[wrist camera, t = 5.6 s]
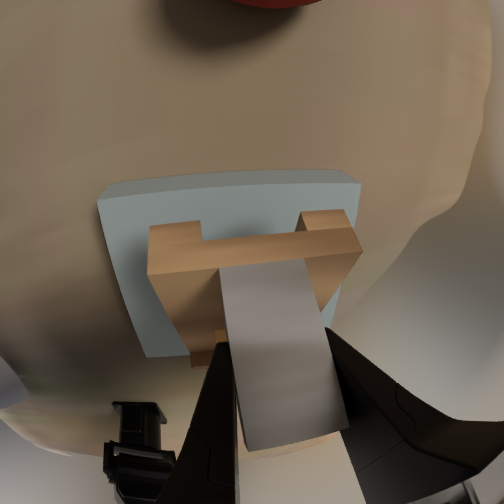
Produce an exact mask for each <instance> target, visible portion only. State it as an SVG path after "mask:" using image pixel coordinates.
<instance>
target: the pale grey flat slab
mask: <svg viewBox="0 0 504 504" xmlns="http://www.w3.org/2000/svg"><path fill="white" fill-rule="evenodd" d="M361 186H362V184H361V183H360V182H358V181H357V180H355V179H354V178H352V177H351V176H349V175H347V174H346V173H344V172H343V171H341V170H257V171H234V172H217V173H202V174H190V175H179V176H169V177H160V178H151V179H143V180H135V181H127V182H120V183H113V184H110V185H109V186H108V187H107V188H106V190H105V191H104V192H103V193H102V194H101V196H100V197H99V198H98V199H97V205H98V210H99V214H100V219H101V223H102V227H103V231H104V235H105V239H106V243H107V247H108V250H109V254H110V257H111V261H112V264H113V268H114V271H115V274H116V277H117V281H118V284H119V287H120V290H121V293H122V296H123V299H124V302H125V304H126V307H127V310H128V313H129V315H130V318H131V321H132V323H133V326H134V329H135V331H136V334H137V336H138V339H139V341H140V343H141V346H142V348H143V351H144V353H145V355H146V358H151V357H171V356H186V355H190V352H189V351H188V349H187V347H186V346H185V344H184V342H183V341H182V339H181V337H180V336H179V334H178V332H177V330H176V329H175V327H174V325H173V323H172V322H171V320H170V318H169V316H168V314H167V312H166V311H165V309H164V307H163V305H162V303H161V301H160V299H159V298H158V296H157V294H156V292H155V290H154V288H153V286H152V284H151V282H150V280H149V278H148V276H147V264H148V243H149V228H150V226H152V225H160V224H169V223H178V222H187V221H197V220H200V223H201V231H202V239H203V241H206V240H215V239H225V238H235V237H245V236H256V235H266V234H277V233H288V232H295V228H296V225H297V222H298V218H299V215H300V212H301V211H317V210H334V209H344V211H345V213H346V215H347V217H348V219H349V221H350V223H351V226H352V228H353V230H354V226H355V221H356V215H357V210H358V204H359V198H360V192H361ZM341 285H342V283H341ZM341 285H340V286H339V288H338V289H337V290H336V292H335V293H334V295H333V296H332V298H331V299H330V300H329V302H328V303H327V305H326V306H325V307H324V309H323V310H322V311H321V313H320V314H321V318H322V321H323V325H324V327H328V328H329V329H330V326H331V322H332V319H333V315H334V312H335V308H336V304H337V300H338V297H339V293H340V289H341Z"/></svg>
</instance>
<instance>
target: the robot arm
mask: <svg viewBox="0 0 504 504" xmlns="http://www.w3.org/2000/svg"><path fill="white" fill-rule="evenodd" d="M324 328H325V332H326V335H327V339H328V343H329V346H330V350H331V354H332V358H333V361H334V365H335V369H336V373H337V377H338V381H339V385H340V389H341V393H342V397H343V402H344V406H345V410H346V414H347V419H348V423H349V428H346V429H343V430H339V431H340V433H341V436H342V439H343V441H344V444H345V447H346V449H347V452H348V454H349V457H350V460H351V463H352V465H353V468H354V471H355V473H356V476H357V479H358V482H359V485H360V487H361V490H362V493H363V496H364V498H365V501H366V504H504V421H499V422H490V421H489V422H488V421H463V420H456V419H453V418H451V417H449V416H447V415H445V414H443V413H442V412H440V411H438V410H437V409H435V408H433V407H432V406H430V405H428V404H427V403H425V402H424V401H422V400H421V399H419V398H418V397H416V396H414V395H413V394H412V393H410V392H409V391H408V390H406V389H405V388H404V387H402V386H401V385H400V384H399V383H396V381H394V380H393V379H392V378H391V377H390V376H388V375H387V374H386V373H384V372H383V371H382V370H381V369H379V368H378V367H377V366H376V365H374V364H373V363H372V362H371V361H369V360H368V359H367V358H366V357H364V356H363V355H362V354H361V353H359V352H358V351H357V350H355V349H354V348H353V347H352V346H351V345H349V344H348V343H347V342H346V341H344V340H343V339H342V338H341V337H339V336H338V335H337V334H336V333H334V332H333V331H332V330H331V329H329V328H328V327H324ZM112 406H113V408H114V409H115V410H116V411H117V412H118V414H119V415H120V432H119V443H118V442H114V441H112V440H110V443H109V442H108V443H104V456H103V472H104V473H105V474H106V475H107V478H108V479H109V483H111V484H114V496H115V500H116V501H117V503H118V504H240V493H239V470H238V440H237V405H236V390H235V375H234V368H233V363H232V358H231V352H230V347H229V342H227V341H225V342H218V343H217V344H216V346H215V349H214V352H213V355H212V358H211V361H210V364H209V367H208V370H207V374H206V377H205V380H204V383H203V386H202V389H201V392H200V395H199V398H198V401H197V405H196V408H195V411H194V414H193V417H192V420H191V423H190V427H189V429H188V432H187V435H186V438H185V441H184V444H183V447H182V449H181V452H180V454H179V456H178V459H177V461H176V457H175V452H174V451H171V450H170V451H166V450H161V428H160V424H167V420H166V418H165V416H164V415H163V413H162V411H161V410H160V408H159V406H158V405H157V404H156V403H118V402H113V403H112ZM114 454H117V456H114Z"/></svg>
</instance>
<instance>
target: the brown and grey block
mask: <svg viewBox="0 0 504 504" xmlns="http://www.w3.org/2000/svg"><path fill="white" fill-rule="evenodd" d="M362 252H363V250H362V248H361V245H360V243H359V241H358V239H357V236H356V234H355V232H354V230H353V228H352V226H351V223H350V221H349V219H348V217H347V215H346V213H345V211H344V209H334V210H317V211H301V212H300V215H299V218H298V222H297V225H296V228H295V232H288V233H277V234H266V235H256V236H245V237H235V238H225V239H215V240H206V241H203V239H202V231H201V223H200V220H197V221H187V222H178V223H169V224H160V225H152V226H150V228H149V243H148V264H147V276H148V278H149V280H150V282H151V284H152V286H153V288H154V290H155V292H156V294H157V296H158V298H159V299H160V301H161V303H162V305H163V307H164V309H165V311H166V312H167V314H168V316H169V318H170V320H171V322H172V323H173V325H174V327H175V329H176V330H177V332H178V334H179V336H180V337H181V339H182V341H183V342H184V344H185V346H186V347H187V349H188V351H189V352H190V358H191V367H192V368H193V370H194V369H204V368H208V367H209V364H210V361H211V358H212V355H213V352H214V349H215V346H216V338H215V330H224V329H225V332H226V338H227V342H229V347H230V352H231V358H232V363H233V368H234V375H235V390H236V401H237V406H238V412H239V418H240V423H241V429H242V434H243V439H244V444H245V446H246V448H247V450H248V452H250V451H256V450H262V449H268V448H273V447H278V446H283V445H288V444H292V443H296V442H300V441H304V440H308V439H312V438H316V437H319V436H323V435H326V434H330V433H333V432H336V431H339V430H343V429H346V428H349V423H348V419H347V414H346V410H345V406H344V402H343V397H342V393H341V389H340V385H339V381H338V377H337V373H336V369H335V365H334V361H333V358H332V354H331V350H330V346H329V343H328V339H327V335H326V332H325V328H324V325H323V321H322V318H321V314H320V313H321V311H322V310H323V309H324V307H325V306H326V305H327V303H328V302H329V300H330V299H331V298H332V296H333V295H334V293H335V292H336V290H337V289H338V288H339V286H340V285H341V283H342V282H343V280H344V279H345V277H346V276H347V274H348V273H349V271H350V270H351V268H352V267H353V265H354V264H355V262H356V261H357V259H358V258H359V256H360V255H361V253H362Z"/></svg>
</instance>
